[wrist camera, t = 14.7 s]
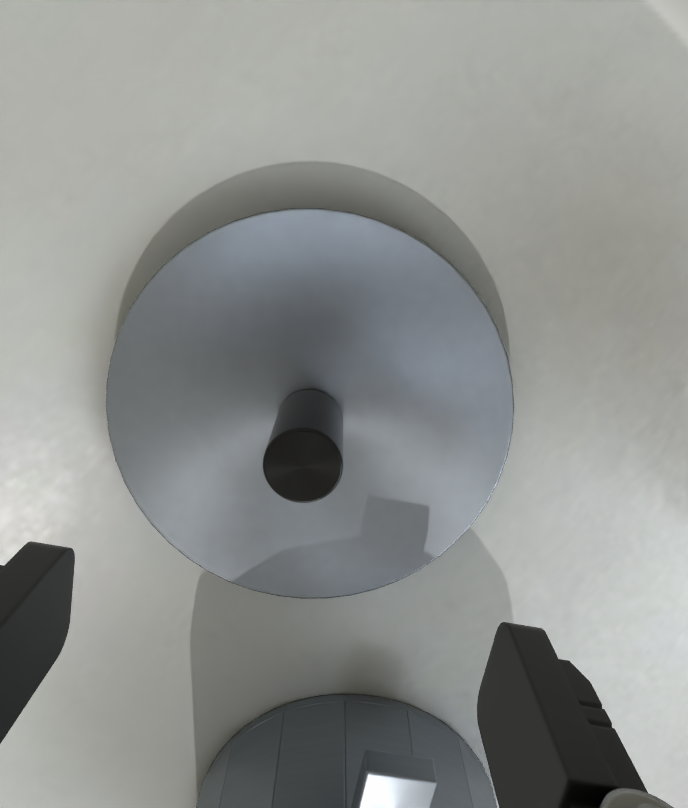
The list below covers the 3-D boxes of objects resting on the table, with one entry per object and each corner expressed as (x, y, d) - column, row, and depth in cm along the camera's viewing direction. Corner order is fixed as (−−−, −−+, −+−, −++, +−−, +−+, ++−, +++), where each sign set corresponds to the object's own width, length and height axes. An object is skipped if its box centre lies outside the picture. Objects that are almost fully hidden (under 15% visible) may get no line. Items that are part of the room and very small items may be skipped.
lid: (552, 252, 23) (618, 263, 17) (455, 609, 27) (484, 709, 21) (136, 170, 22) (69, 154, 17) (100, 550, 26) (36, 638, 21)
